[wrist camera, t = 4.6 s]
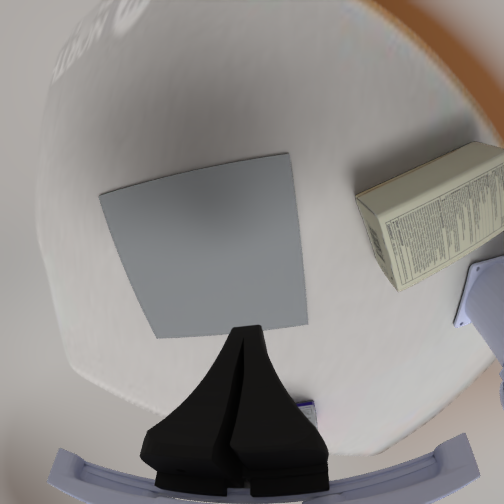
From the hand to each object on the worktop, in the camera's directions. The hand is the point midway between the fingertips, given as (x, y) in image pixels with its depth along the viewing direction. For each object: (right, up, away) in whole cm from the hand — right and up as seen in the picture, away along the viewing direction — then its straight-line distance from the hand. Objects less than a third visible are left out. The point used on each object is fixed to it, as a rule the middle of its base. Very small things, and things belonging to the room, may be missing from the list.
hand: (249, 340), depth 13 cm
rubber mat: (-3, +3, +8) cm, 9 cm away
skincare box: (+8, +5, +4) cm, 10 cm away
